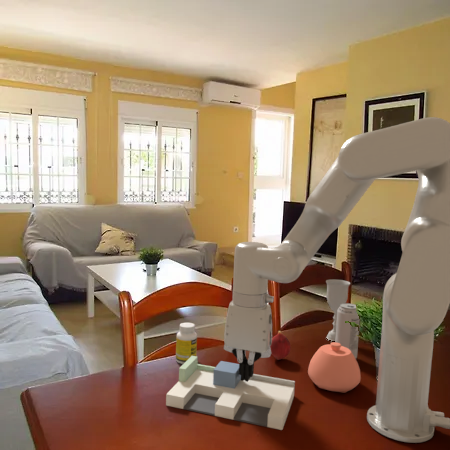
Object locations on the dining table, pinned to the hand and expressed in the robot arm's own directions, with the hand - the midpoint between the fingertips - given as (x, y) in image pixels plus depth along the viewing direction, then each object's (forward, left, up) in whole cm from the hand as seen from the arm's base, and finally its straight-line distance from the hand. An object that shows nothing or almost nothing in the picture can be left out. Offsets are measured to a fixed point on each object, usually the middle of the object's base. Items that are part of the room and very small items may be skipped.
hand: (245, 378), depth 97 cm
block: (+4, 0, -2) cm, 5 cm away
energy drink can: (-20, -30, -4) cm, 37 cm away
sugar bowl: (-18, -14, -4) cm, 24 cm away
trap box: (+2, +3, -4) cm, 6 cm away
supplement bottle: (+20, -12, -4) cm, 24 cm away
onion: (-3, -22, -4) cm, 23 cm away
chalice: (-16, -44, -4) cm, 47 cm away
